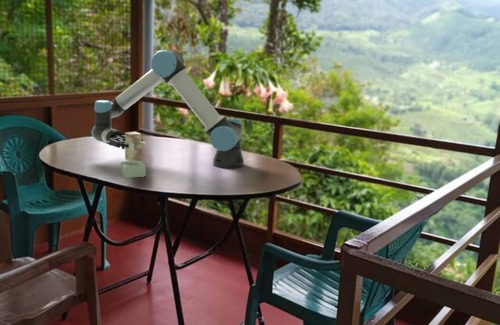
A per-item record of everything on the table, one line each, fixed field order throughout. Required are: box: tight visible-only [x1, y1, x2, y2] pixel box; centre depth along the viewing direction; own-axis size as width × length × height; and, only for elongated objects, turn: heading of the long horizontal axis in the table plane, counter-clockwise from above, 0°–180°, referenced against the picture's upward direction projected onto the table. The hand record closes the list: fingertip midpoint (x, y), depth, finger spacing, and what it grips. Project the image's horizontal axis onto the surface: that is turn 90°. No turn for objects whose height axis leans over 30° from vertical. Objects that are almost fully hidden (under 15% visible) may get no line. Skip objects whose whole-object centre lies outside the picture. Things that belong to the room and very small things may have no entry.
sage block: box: [120, 160, 147, 179], centre depth 226 cm, size 9×9×5 cm
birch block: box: [124, 131, 142, 162], centre depth 224 cm, size 5×5×12 cm
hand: (139, 146), depth 220 cm, fingers closed on birch block, 5 cm apart
